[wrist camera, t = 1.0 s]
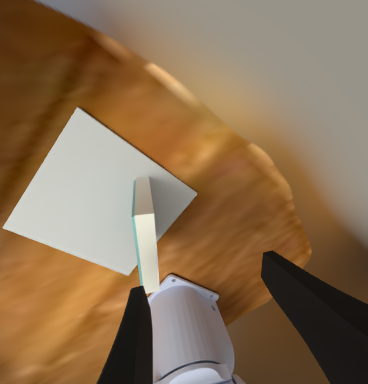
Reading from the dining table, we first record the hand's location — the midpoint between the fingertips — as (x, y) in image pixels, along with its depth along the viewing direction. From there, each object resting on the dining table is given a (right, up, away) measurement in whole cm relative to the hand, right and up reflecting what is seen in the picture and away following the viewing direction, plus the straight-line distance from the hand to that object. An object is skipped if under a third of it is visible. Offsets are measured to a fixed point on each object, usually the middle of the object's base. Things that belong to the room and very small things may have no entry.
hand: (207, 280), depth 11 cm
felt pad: (-9, +4, +8) cm, 12 cm away
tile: (-5, +3, +8) cm, 10 cm away
